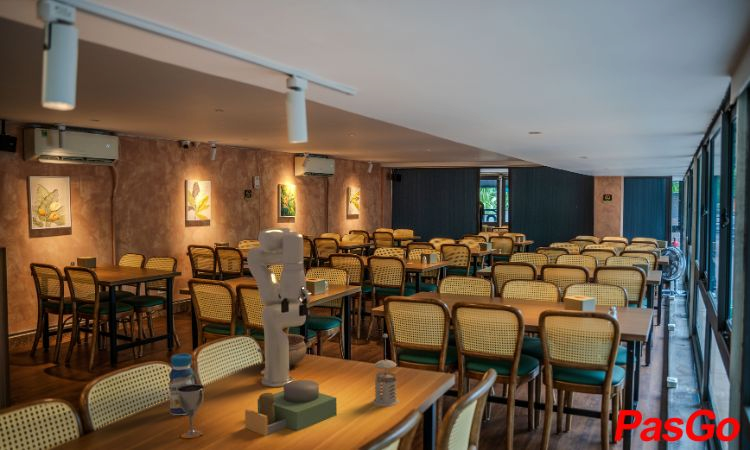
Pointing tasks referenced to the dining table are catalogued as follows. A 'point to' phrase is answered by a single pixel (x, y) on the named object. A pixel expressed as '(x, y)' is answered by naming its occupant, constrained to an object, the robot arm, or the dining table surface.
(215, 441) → the dining table surface
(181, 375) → the beverage bottle
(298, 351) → the cooking pot
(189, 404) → the wine glass
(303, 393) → the green box with dome
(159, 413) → the dining table surface
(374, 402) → the french press
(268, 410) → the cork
